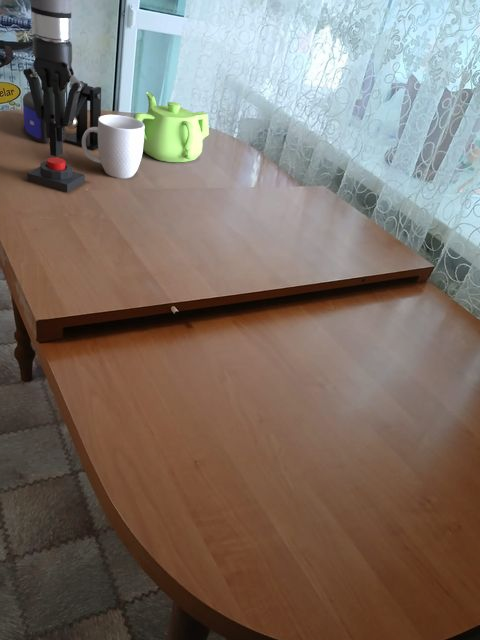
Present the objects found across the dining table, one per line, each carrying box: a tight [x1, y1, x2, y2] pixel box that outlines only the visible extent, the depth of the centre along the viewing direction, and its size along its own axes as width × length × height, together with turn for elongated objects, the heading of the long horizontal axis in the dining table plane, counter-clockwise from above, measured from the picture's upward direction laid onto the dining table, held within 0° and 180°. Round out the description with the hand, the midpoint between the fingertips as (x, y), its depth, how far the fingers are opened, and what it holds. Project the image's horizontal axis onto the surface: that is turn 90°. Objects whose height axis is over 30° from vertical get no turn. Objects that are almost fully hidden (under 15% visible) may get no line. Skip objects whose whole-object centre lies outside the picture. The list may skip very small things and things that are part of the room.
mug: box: [81, 114, 144, 179], centre depth 136 cm, size 15×11×13 cm
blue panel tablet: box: [22, 91, 49, 144], centre depth 147 cm, size 16×5×9 cm, turn 28°
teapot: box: [133, 91, 210, 163], centre depth 154 cm, size 19×20×14 cm
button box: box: [26, 160, 86, 193], centre depth 127 cm, size 10×8×4 cm
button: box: [46, 156, 66, 170], centre depth 126 cm, size 4×4×2 cm
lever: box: [65, 85, 95, 130], centre depth 144 cm, size 14×3×3 cm, turn 166°
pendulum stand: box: [62, 82, 102, 151], centre depth 149 cm, size 12×9×15 cm
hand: (56, 154), depth 124 cm, fingers closed
